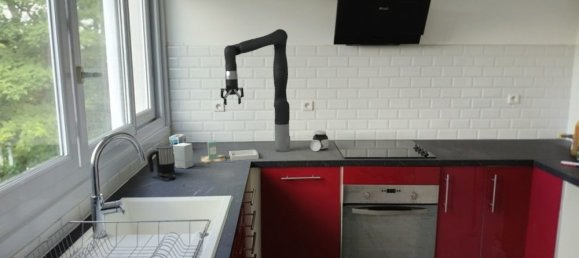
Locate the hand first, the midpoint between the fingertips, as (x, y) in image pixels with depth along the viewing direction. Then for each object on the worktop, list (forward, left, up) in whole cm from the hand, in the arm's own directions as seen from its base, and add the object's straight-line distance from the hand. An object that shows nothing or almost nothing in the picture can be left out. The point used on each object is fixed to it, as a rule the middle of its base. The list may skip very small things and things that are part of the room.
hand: (232, 104), depth 262 cm
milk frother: (+38, +46, -30) cm, 67 cm away
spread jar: (-53, +10, -30) cm, 62 cm away
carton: (+14, +18, -29) cm, 37 cm away
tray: (-4, +18, -30) cm, 35 cm away
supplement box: (+30, +29, -30) cm, 52 cm away
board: (+14, +18, -30) cm, 38 cm away
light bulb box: (+35, -10, -30) cm, 47 cm away
